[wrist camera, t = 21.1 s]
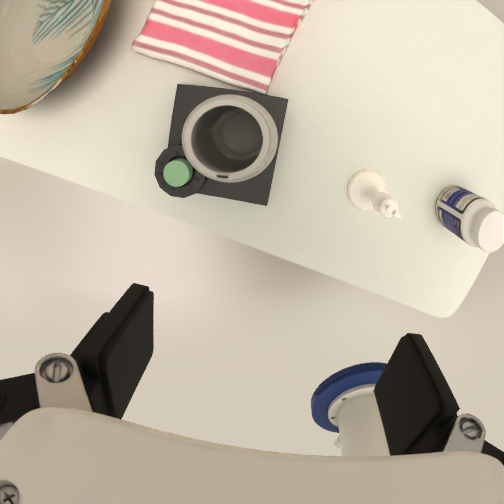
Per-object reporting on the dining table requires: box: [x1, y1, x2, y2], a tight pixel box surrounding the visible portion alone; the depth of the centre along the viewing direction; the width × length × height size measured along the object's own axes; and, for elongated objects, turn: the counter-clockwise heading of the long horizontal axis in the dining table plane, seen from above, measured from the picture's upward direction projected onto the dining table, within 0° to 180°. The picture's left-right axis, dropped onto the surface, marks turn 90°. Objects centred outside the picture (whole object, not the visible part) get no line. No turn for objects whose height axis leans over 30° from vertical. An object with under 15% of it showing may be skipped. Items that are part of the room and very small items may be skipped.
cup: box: [182, 95, 278, 182], centre depth 26 cm, size 7×7×12 cm
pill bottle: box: [436, 186, 504, 253], centre depth 30 cm, size 6×6×10 cm
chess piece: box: [348, 170, 402, 220], centre depth 30 cm, size 5×5×10 cm
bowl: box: [0, 0, 112, 114], centre depth 24 cm, size 25×25×8 cm
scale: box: [155, 84, 288, 206], centre depth 32 cm, size 12×13×4 cm
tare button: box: [163, 158, 193, 187], centre depth 32 cm, size 3×3×2 cm
